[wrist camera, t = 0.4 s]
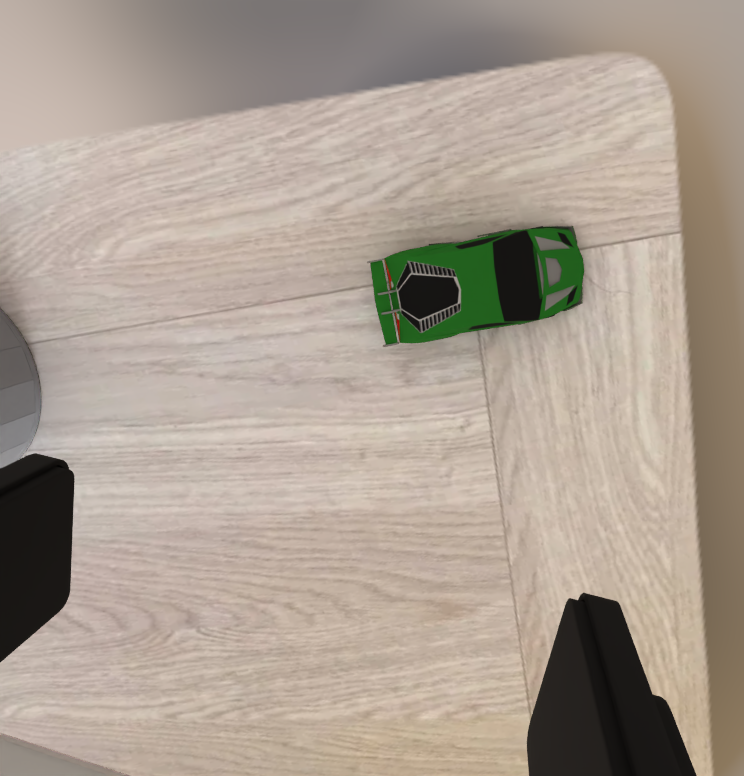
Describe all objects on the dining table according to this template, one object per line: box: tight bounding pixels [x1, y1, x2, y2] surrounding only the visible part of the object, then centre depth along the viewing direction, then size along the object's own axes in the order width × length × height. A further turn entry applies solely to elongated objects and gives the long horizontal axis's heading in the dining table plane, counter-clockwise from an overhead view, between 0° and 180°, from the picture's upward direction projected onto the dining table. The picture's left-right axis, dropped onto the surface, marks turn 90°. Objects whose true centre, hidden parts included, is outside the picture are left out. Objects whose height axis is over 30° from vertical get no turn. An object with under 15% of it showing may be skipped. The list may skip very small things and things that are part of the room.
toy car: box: [367, 226, 584, 347], centre depth 29 cm, size 10×5×2 cm, turn 101°
